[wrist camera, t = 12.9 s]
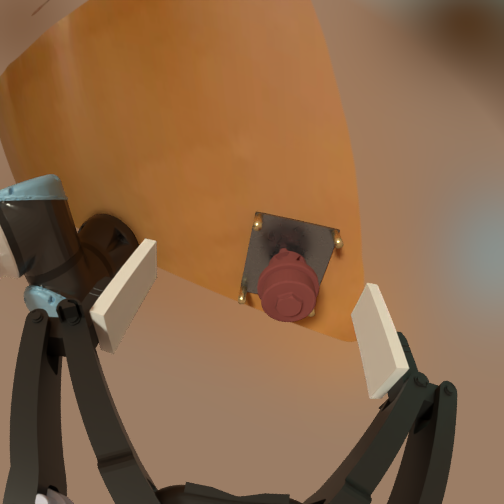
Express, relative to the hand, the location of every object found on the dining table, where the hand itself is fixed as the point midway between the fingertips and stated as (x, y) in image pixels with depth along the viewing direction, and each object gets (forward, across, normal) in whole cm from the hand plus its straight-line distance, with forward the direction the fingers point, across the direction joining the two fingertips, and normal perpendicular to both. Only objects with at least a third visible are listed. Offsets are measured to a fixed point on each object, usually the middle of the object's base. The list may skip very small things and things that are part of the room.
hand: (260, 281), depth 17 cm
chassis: (+31, +6, -17) cm, 36 cm away
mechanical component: (+30, +7, -17) cm, 35 cm away
